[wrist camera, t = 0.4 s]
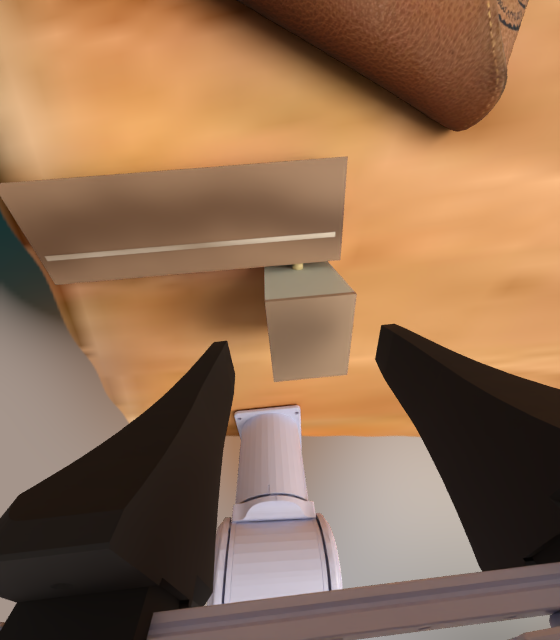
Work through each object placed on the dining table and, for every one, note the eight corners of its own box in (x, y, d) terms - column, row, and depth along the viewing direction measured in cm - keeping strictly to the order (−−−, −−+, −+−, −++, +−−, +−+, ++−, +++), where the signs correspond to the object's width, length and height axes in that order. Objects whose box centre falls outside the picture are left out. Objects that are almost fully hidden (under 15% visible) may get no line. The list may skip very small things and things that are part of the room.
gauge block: (322, 320, 21) (347, 374, 15) (270, 325, 21) (274, 382, 15) (324, 251, 18) (357, 285, 12) (263, 257, 18) (263, 293, 12)
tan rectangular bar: (331, 251, 18) (340, 260, 16) (81, 273, 18) (54, 285, 15) (335, 161, 15) (348, 156, 13) (33, 184, 14) (-10, 183, 12)
